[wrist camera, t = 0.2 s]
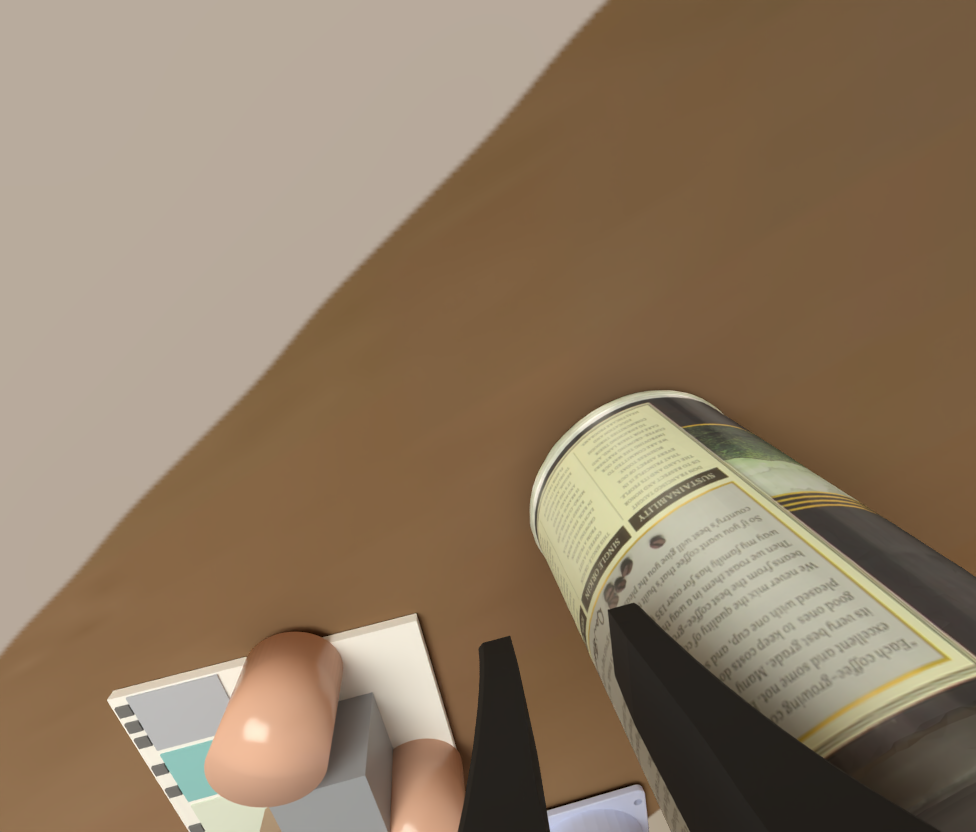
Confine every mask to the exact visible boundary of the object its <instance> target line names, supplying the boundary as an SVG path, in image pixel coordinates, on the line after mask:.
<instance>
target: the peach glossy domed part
mask: <svg viewBox="0 0 976 832" xmlns="http://www.w3.org/2000/svg"><path fill="white" fill-rule="evenodd" d="M343 668H344V667H343V661H342V657H341V655H340V653H339V652H338V650H337V649H336V648H335V647H334V646H333V645H332V644H331V643H330V642H329V641H327V640H325V639H324V638H322V637H320V636H317V635H314V634H311V633H306V632H285V633H280V634H276V635H273V636H271V637H268V638H266V639H264V640H263V641H261V642H260V643H258V644H257V645H256V646H255V647H254V648H253V649H252V650H251V651H250V653H249V654H248V656H247V658H246V660H245V663H244V665H243V668H242V670H241V673H240V675H239V678H238V680H237V683H236V685H235V687H234V690H233V692H232V695H231V697H230V700H229V702H228V705H227V707H226V709H225V712H224V714H223V717H222V719H221V722H220V724H219V727H218V729H217V732H216V734H215V736H214V739H213V741H212V744H211V746H210V749H209V751H208V754H207V756H206V759H205V764H204V772H205V776H206V779H207V781H208V783H209V785H210V786H211V787H212V789H213V790H214V791H215V792H216V793H218V794H219V795H220V796H222V797H223V798H225V799H227V800H229V801H231V802H233V803H236V804H240V805H244V806H249V807H263V808H264V807H275V806H281V805H285V804H288V803H291V802H294V801H297V800H299V799H301V798H303V797H304V796H306V795H308V794H309V793H311V792H312V791H313V790H314V789H315V788H316V787H317V786H318V785H319V784H320V783H321V781H322V780H323V778H324V776H325V774H326V772H327V768H328V762H329V756H330V750H331V744H332V738H333V731H334V725H335V719H336V713H337V707H338V701H339V695H340V689H341V683H342V677H343Z"/></svg>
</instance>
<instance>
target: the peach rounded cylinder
mask: <svg viewBox="0 0 976 832" xmlns="http://www.w3.org/2000/svg"><path fill="white" fill-rule="evenodd" d="M464 798H465V785H464V775H463V765H462V758H461V755H460V753H459V752H458V750H457V749H456V748H455V747H453V746H452V745H451V744H449V743H447V742H444V741H441V740H438V739H429V738H427V739H416V740H412V741H409V742H406V743H403V744H401V745H399V746H397V747H396V748H394V749H393V763H392V789H391V815H390V832H458V828H459V823H460V818H461V813H462V809H463V804H464Z"/></svg>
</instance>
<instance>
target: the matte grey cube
mask: <svg viewBox="0 0 976 832" xmlns="http://www.w3.org/2000/svg"><path fill="white" fill-rule="evenodd" d="M392 763H393V747H392V744H391V741H390V739H389V736H388V733H387V730H386V728H385V725H384V722H383V719H382V717H381V714H380V711H379V708H378V706H377V703H376V700H375V697H374V694H373V692H371V693H368V694H364V695H360V696H356V697H353V698H349V699H345V700H341V701H338V707H337V713H336V719H335V725H334V731H333V738H332V744H331V750H330V756H329V762H328V768H327V772H326V774H325V776H324V778H323V780H322V781H321V783H320V784H319V785H318V786H317V787H316V788H315V789H314V790H313V791H312V792H311V793H309V794H308V795H306V796H304V797H303V798H301V799H299V800H297V801H294V802H291V803H288V804H285V805H281V806H275V807H269V808H270V810H271V812H272V814H273V816H274V818H275V820H276V822H277V824H278V825H279V827H280V829H281V831H282V832H390V815H391V789H392Z"/></svg>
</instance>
